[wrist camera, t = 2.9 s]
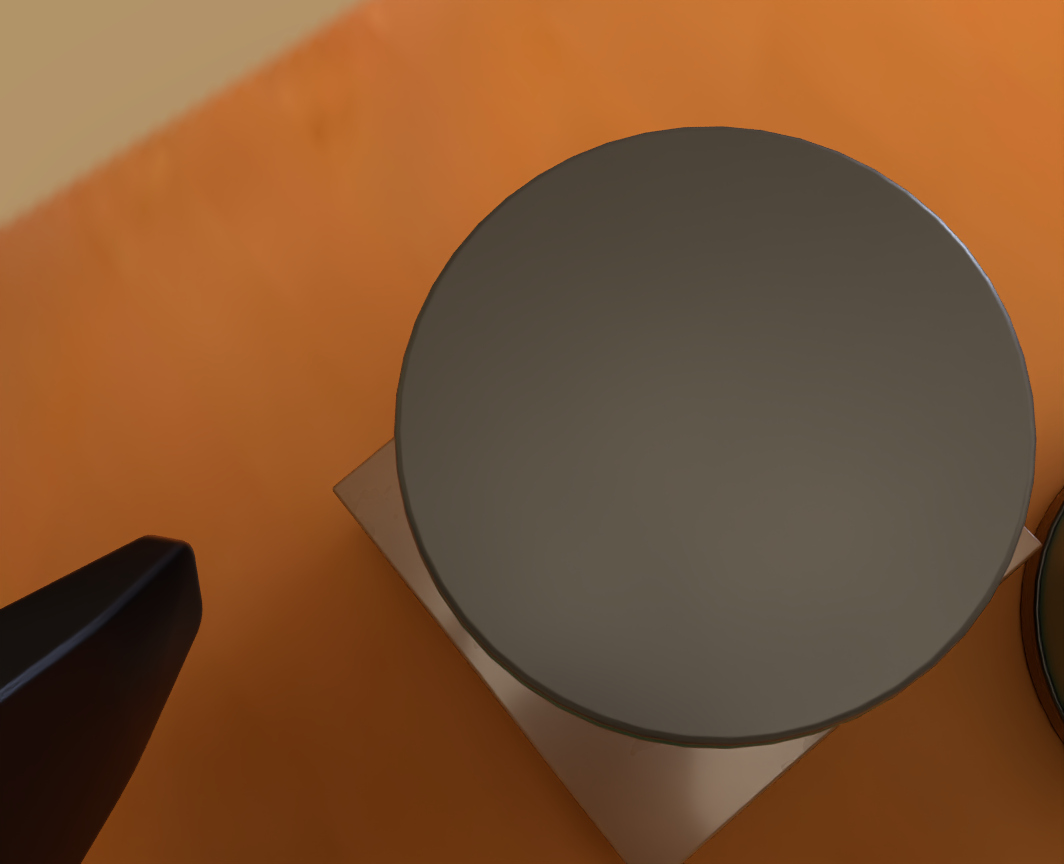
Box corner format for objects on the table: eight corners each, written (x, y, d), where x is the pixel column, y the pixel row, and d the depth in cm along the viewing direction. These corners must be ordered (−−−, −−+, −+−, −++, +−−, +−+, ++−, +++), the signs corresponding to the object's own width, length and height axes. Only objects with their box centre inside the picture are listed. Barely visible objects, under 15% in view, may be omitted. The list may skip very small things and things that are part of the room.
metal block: (646, 856, 19) (648, 894, 16) (372, 511, 21) (329, 488, 18) (982, 561, 19) (1045, 545, 16) (685, 251, 21) (694, 187, 18)
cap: (655, 790, 16) (676, 905, 9) (416, 495, 18) (264, 384, 10) (946, 537, 17) (1194, 448, 9) (689, 268, 18) (729, 6, 11)
